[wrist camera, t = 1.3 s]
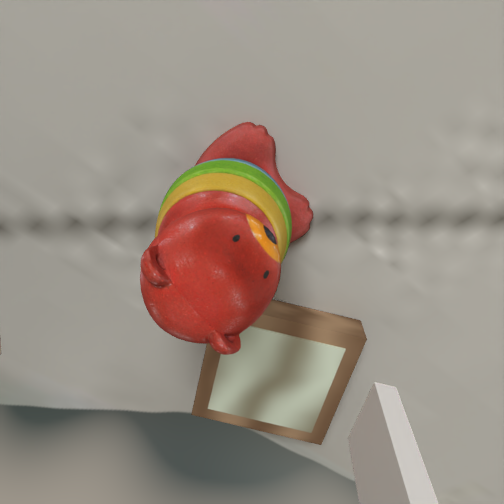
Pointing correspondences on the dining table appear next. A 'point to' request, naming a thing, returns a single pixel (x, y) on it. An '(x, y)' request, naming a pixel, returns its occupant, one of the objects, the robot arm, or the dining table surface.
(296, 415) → the picture frame
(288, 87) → the dining table surface
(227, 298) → the stacking bear
